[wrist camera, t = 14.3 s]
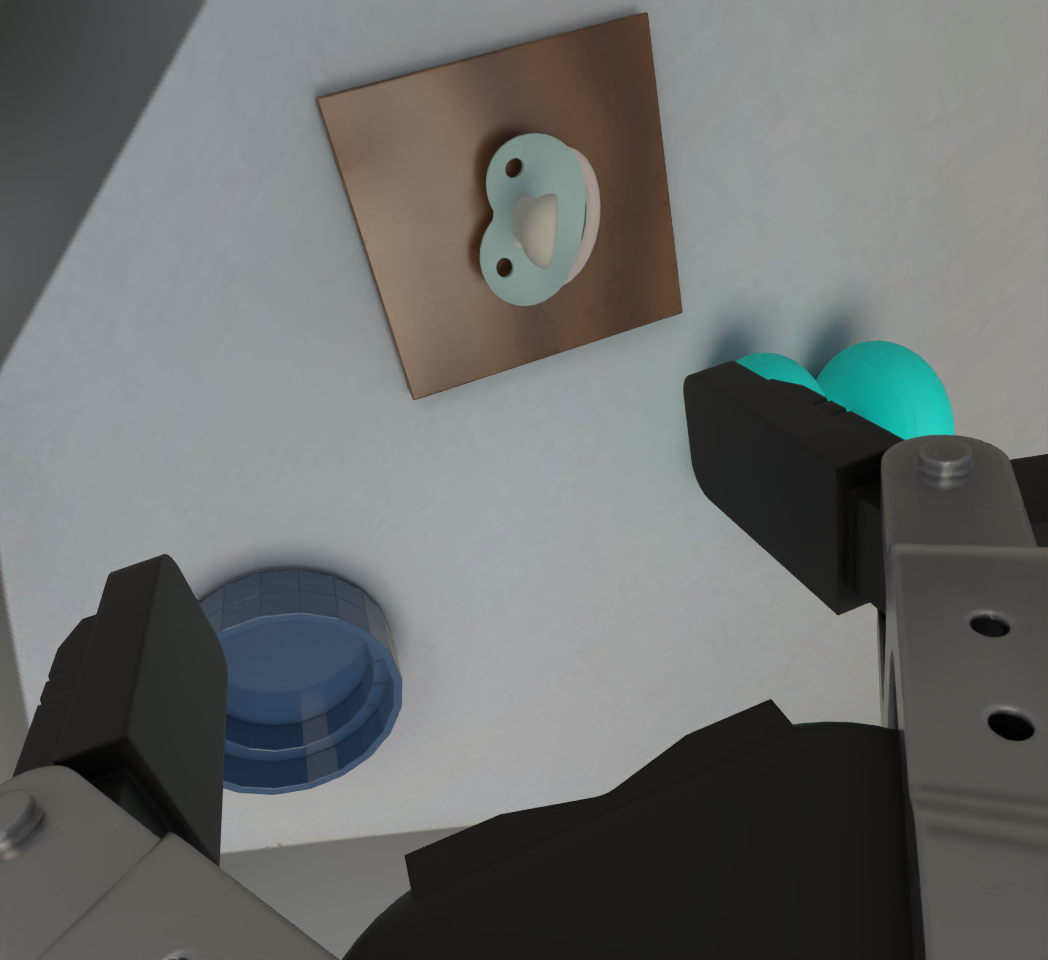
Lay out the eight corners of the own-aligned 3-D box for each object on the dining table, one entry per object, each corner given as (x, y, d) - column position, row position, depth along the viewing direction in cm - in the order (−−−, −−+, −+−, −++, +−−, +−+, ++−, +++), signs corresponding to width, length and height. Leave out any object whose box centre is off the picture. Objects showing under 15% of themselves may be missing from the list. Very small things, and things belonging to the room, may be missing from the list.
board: (409, 392, 40) (413, 401, 39) (314, 97, 33) (316, 98, 31) (672, 307, 42) (683, 312, 41) (636, 13, 35) (648, 11, 34)
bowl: (223, 764, 47) (220, 824, 43) (128, 613, 40) (114, 668, 37) (415, 690, 48) (428, 742, 45) (352, 535, 42) (361, 580, 38)
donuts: (826, 468, 50) (940, 546, 42) (687, 489, 48) (780, 577, 39) (855, 318, 46) (991, 371, 37) (704, 333, 43) (812, 393, 35)
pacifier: (605, 139, 36) (481, 126, 34) (669, 149, 30) (527, 134, 28) (583, 296, 39) (469, 292, 37) (638, 330, 34) (508, 327, 32)
